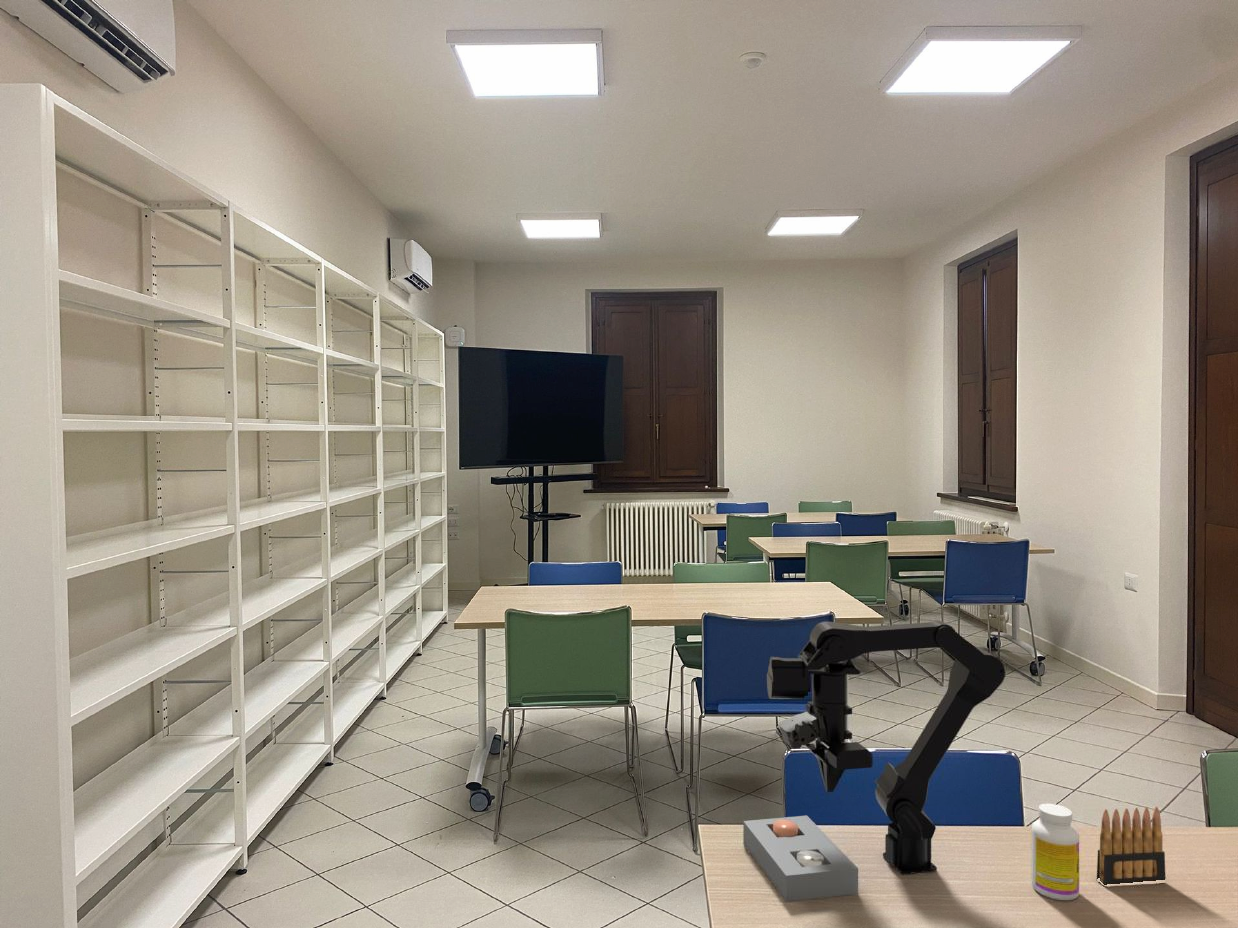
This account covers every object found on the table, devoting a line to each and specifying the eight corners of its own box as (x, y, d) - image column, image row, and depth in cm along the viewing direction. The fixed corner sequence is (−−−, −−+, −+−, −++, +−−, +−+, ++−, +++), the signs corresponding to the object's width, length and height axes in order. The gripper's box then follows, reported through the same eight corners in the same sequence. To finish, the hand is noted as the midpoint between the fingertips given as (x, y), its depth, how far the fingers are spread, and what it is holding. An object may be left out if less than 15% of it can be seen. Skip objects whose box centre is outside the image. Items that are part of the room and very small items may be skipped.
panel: (806, 837, 144) (806, 815, 144) (858, 893, 125) (858, 868, 125) (743, 843, 142) (743, 820, 142) (786, 901, 123) (786, 875, 123)
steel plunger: (816, 867, 131) (816, 849, 131) (828, 880, 127) (828, 861, 127) (792, 869, 130) (792, 851, 130) (803, 883, 126) (803, 864, 126)
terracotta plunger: (791, 835, 141) (791, 818, 141) (801, 847, 137) (801, 829, 137) (769, 838, 140) (769, 820, 140) (778, 849, 136) (778, 831, 136)
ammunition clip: (1157, 877, 131) (1157, 804, 131) (1166, 883, 129) (1166, 809, 129) (1096, 880, 130) (1096, 806, 129) (1104, 887, 128) (1104, 811, 128)
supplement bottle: (1085, 904, 123) (1086, 820, 122) (1038, 899, 124) (1039, 816, 124) (1070, 882, 129) (1070, 802, 129) (1025, 877, 130) (1026, 798, 130)
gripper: (764, 686, 143) (763, 773, 143) (808, 719, 124) (808, 819, 124) (822, 682, 145) (822, 769, 145) (874, 715, 127) (874, 813, 127)
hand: (829, 791), depth 135 cm, fingers closed
